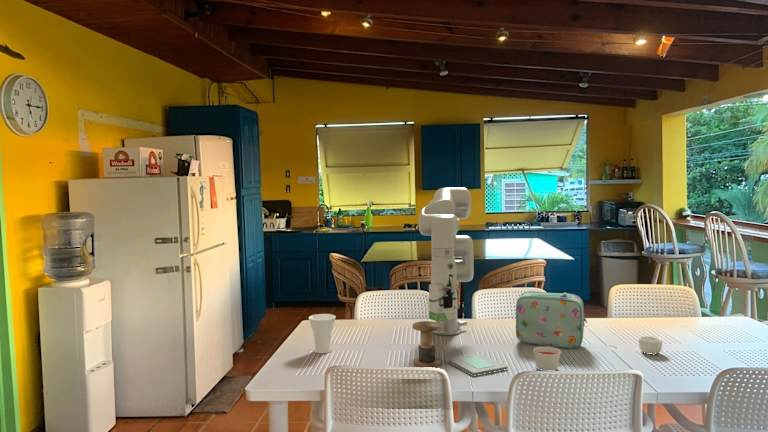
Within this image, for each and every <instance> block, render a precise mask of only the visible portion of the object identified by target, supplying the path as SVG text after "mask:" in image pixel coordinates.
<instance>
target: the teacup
mask: <svg viewBox="0 0 768 432" xmlns="http://www.w3.org/2000/svg"><path fill="white" fill-rule="evenodd" d="M638 347H639V350H640V351H641V352H642V353H643V352H645V353H652V354H655V353H658V354H659V352H660V353H661V352H662V347H663V341H662V339H661V338H659V337H657V336H656V337H654V336H648V335H643V336H640V337H638ZM645 353H644V354H645Z"/></svg>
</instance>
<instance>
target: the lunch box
mask: <svg viewBox="0 0 768 432" xmlns="http://www.w3.org/2000/svg"><path fill="white" fill-rule="evenodd" d="M584 308H585V307H584V301H583V299H582V298H581V297H580V296H579V295H576V294H574V293H567V292H566V291H565V292H563V293H561V292H559V293H558V292H545V291H543V292H542V291H535V290H534V291H532V290H530V291H529V290H528V291H524V292H523V293H521V295H519V297H518V298H517V300H516V305H515V336H516V338H517V340H518V341H520V342H521V343H524V344H533V345H540V346H544V347H548V346H553V348H563V347H564V348H565V349H576V348H579V347H580V346H581V345H582V344H583V339H584V331H585V328H584V327H585V323H586V324H587V323H588V321H587V317H585V313H584Z"/></svg>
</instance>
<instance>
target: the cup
mask: <svg viewBox="0 0 768 432" xmlns="http://www.w3.org/2000/svg"><path fill="white" fill-rule="evenodd" d="M308 320H309V323H310V327H311V329H312V333H313V337H314V353H315V354H328V353H330V352H332V347H331V346H332V345H331V343H332V342H331V339H332V331H333V328H334V324H335V321H336V315H334V314H331V313H318V314H316V313H315V314H312V315H310V316H309V317H308Z"/></svg>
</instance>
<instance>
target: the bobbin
mask: <svg viewBox="0 0 768 432" xmlns="http://www.w3.org/2000/svg"><path fill="white" fill-rule="evenodd" d="M440 328H441V324H440V323H437V322H436V321H433V320H432V321H429V320H425V321H424V320H423V321H415V322H413V323H412V329H413V330H415V331H420V345H418V356H416V357H414V358H413V360H412V364H413V365H414V366H416V367H418V366H422V367H421V368H423V367H432V368H438V367H440V366H441V364H442V360H441V358H439V357H437V356H436V345H434V333H433V331H435V330H439V329H440Z"/></svg>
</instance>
